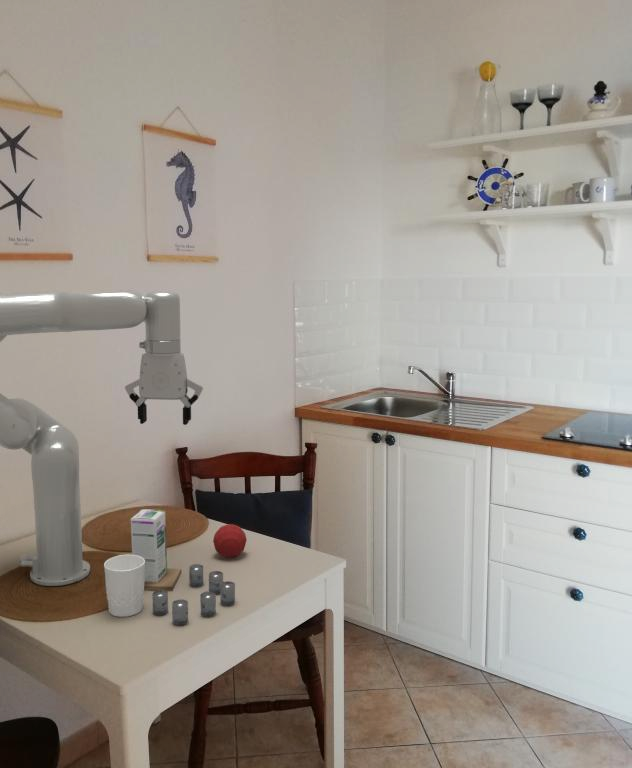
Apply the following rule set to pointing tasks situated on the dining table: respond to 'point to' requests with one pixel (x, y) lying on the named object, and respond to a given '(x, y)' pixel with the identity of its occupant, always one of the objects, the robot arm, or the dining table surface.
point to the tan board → (165, 581)
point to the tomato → (229, 540)
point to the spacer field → (206, 598)
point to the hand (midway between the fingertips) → (164, 423)
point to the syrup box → (150, 542)
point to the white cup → (125, 584)
